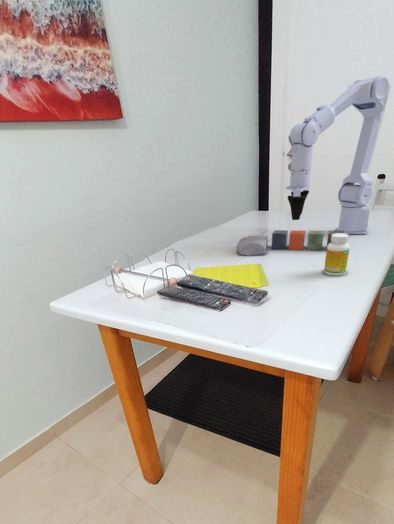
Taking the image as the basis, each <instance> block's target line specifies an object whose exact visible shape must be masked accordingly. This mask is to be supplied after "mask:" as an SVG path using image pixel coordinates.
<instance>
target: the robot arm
mask: <svg viewBox="0 0 394 524" xmlns="http://www.w3.org/2000/svg"><path fill="white" fill-rule="evenodd" d="M391 88H392V86H391V82H390V81H389V78H388V76H387V75H386V74H380V75H378V76H373V77H368V78H363V79H357V80H355V81H353V83H351V84H349V85H348V87H347V89H346V90H345V91H343V93H341V94H340V95H339V96H338V97H337V98H336V99H335V100H334V101H333V102H332V103H330V105H328V104H324V105H318V106H317V107H316V111H314V112H313V113H312V114H311V115H309V116H306V117H304V119H303V122H302V123H297V124H295V125H294V126H293V127H292V128H291V130H290V132H289V135H288V143H289V144H290V152H291V162H290V163H291V164H290V179H289V180H290V181H289V185H286V186H285V190H289V191H290V195H288V196H287V201H288V204H289V207H290V215H291V220H292V221H299V220H300V219H301V216H302V214H303V210H304V208H305V207H304V206H305V203H306V200H307V198H308V195H309V194H310V190H309V189H310V179H311V167H312V155H313V146H314V145H315V144H316V143H317V141H318V138H319V136H320V135H322V134H323V132H325V131H326V130H327V129H328V128H330V127H331V126H332V125H333V124H334V123H335V120H336V117H337V116H338V115H340V114H341V113H343V112H344V111H345V110H347V109H348V108H349V107H351V106H352V107H353V108H355V110H356V111H358V113H359V114H361V115H362V117H363V121H362V125H361V128H360V134H359V137H358V141H357V145H356V149H355V153H354V157H353V161H352V166H351V171H350V173H349V174H348V175H347V176H346V177H345V178H344V179H343V180H342V184H341V185H340V188H339V189H338V191H337V192H338V193H337V199H338V202H339V203H340V204H339V205H340V206H341V208H340V214H339V215H340V216H339V219H338V220H339V221H338V227H336V231H344V234H348V235H366V234H367V229H368V226H369V217H370V210H371V205H367V204H368V203H369V202H370V200H371V198H372V194H373V184H374V181H373V180H372V178H371V177H370V176H369V171H370V168H371V164H372V160H373V157H374V153H375V149H376V145H377V142H378V139H379V138H378V137H379V135H380V131H381V128H382V123H383V120H384V116H385V111H386V106H387V102H388V99H389V95H390V92H391Z"/></svg>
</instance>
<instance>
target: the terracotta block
mask: <svg viewBox="0 0 394 524" xmlns="http://www.w3.org/2000/svg"><path fill="white" fill-rule="evenodd" d="M288 237H289V238H288V239H289V240H288V250H291V251H303V250H304V247H305V237H306V230H290V233H289V236H288Z"/></svg>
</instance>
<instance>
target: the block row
mask: <svg viewBox="0 0 394 524" xmlns="http://www.w3.org/2000/svg"><path fill="white" fill-rule="evenodd" d="M324 233H325V232H324V230H309V231H308V236H307V244H306V245H307V246H306V250H307V251H322V249H323V241H324ZM335 233H344V231H337V230H328V234H327V241H326V247H325V250H326V251H327V246H328V244H329V243H331V242H332V241H331V236H332V234H335ZM288 234H289V230H288V229H287V230H283V229H282V230H281V229H279V230H277V229H275V230H273V232H272V234H271V250H286V248H287V246H288V237H289V235H288Z"/></svg>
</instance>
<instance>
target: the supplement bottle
mask: <svg viewBox="0 0 394 524" xmlns="http://www.w3.org/2000/svg"><path fill="white" fill-rule="evenodd" d="M349 235H350V234H344V233H335V234H332V236H331V241H332V242H331V243H329V244H328V246H327V245H326V248H327V250H326V253H325V260H324V265H323V266H324V267H323V272H324V274H326V275H327V276H328V275H329V276H335V277H336V276H343V275H345V274H346V272H347V266H348V261H349V255H350V249H351V245H350V244H349V243H348V242H349Z"/></svg>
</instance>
